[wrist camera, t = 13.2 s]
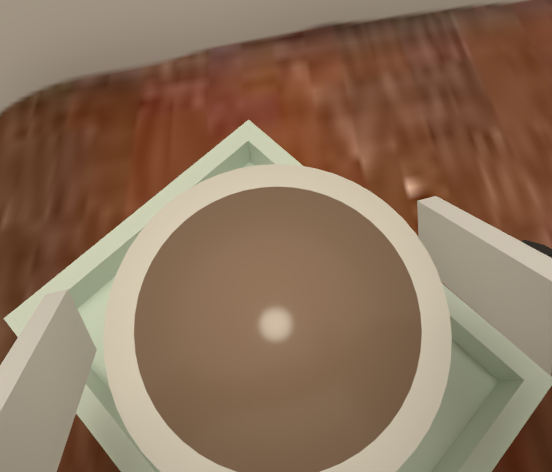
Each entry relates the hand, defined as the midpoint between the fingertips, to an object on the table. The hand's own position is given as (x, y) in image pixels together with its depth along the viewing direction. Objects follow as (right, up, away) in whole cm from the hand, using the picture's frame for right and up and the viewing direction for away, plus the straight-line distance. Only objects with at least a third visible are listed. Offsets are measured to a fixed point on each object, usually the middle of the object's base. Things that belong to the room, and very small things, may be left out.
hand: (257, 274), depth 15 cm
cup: (+1, -5, +6) cm, 7 cm away
